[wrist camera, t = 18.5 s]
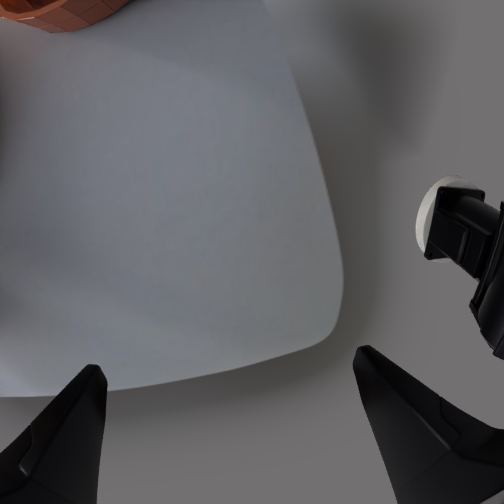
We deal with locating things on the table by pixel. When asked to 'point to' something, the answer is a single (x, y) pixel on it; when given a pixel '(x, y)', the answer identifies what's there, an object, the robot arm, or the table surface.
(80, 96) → the table surface
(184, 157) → the table surface
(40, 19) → the pot
